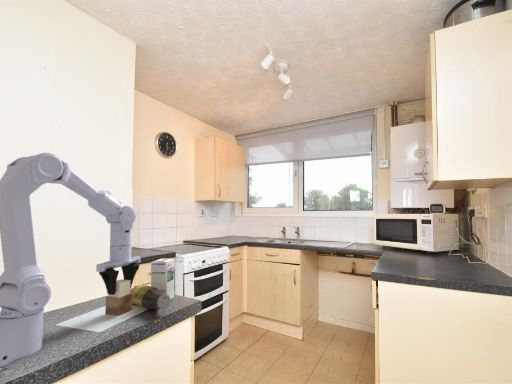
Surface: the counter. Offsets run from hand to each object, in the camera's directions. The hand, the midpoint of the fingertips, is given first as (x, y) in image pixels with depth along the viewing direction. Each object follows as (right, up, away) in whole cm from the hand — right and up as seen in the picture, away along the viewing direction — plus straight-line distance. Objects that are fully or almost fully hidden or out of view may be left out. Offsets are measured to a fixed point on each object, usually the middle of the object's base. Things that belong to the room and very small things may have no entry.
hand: (119, 291), depth 79 cm
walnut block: (0, -6, 0) cm, 6 cm away
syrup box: (+10, -8, +9) cm, 15 cm away
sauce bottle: (+1, -5, +10) cm, 11 cm away
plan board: (-2, -7, -3) cm, 8 cm away
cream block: (0, -1, 0) cm, 1 cm away
